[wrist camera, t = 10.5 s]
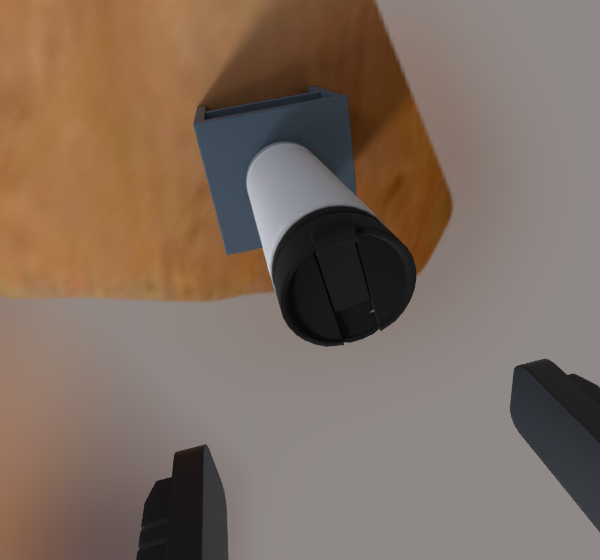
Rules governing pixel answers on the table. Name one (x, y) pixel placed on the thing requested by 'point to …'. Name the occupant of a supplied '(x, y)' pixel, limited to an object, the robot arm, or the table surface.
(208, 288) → the table surface
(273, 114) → the shelf
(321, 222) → the travel mug
